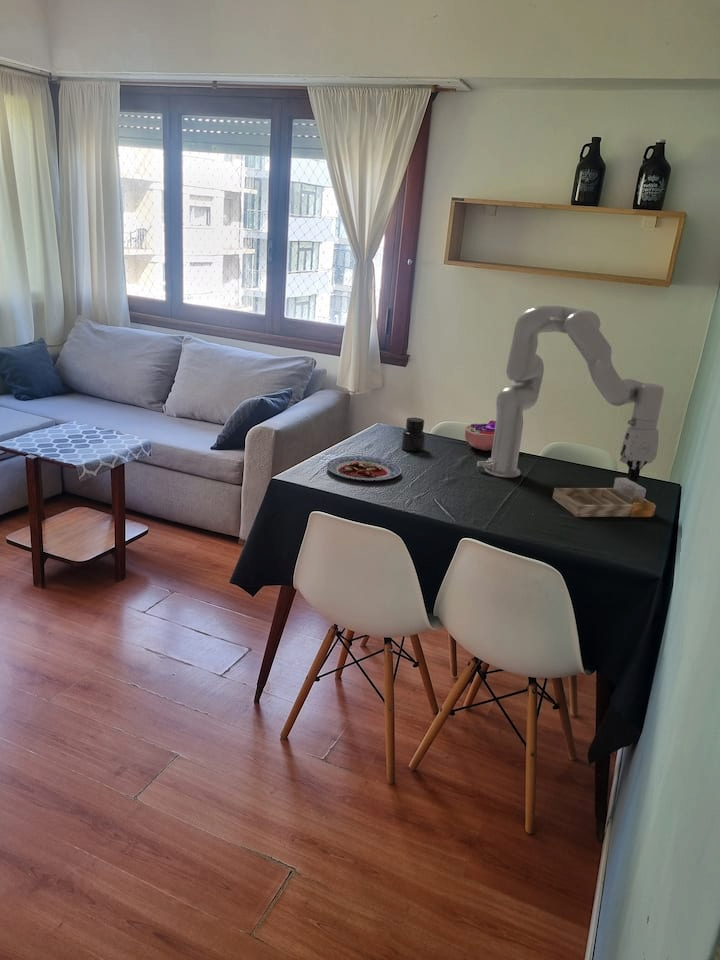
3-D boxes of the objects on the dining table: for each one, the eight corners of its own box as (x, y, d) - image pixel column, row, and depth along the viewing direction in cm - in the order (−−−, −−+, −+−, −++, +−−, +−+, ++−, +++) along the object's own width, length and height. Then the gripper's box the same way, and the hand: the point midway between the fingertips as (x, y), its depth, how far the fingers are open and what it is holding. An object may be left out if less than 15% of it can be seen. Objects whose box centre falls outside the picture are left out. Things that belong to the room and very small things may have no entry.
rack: (577, 517, 203) (580, 503, 202) (552, 498, 219) (554, 485, 217) (654, 516, 209) (658, 503, 207) (625, 497, 224) (627, 485, 223)
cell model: (452, 446, 271) (455, 418, 267) (487, 441, 282) (491, 415, 278) (482, 457, 258) (486, 429, 254) (517, 452, 269) (521, 424, 266)
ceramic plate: (378, 491, 214) (379, 482, 213) (311, 474, 225) (312, 465, 224) (413, 472, 235) (414, 464, 234) (350, 457, 247) (350, 449, 246)
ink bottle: (427, 449, 264) (431, 419, 260) (420, 454, 256) (423, 423, 252) (404, 444, 267) (407, 415, 264) (396, 449, 260) (399, 419, 256)
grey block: (630, 510, 210) (634, 489, 208) (611, 497, 220) (615, 477, 218) (641, 510, 211) (646, 489, 208) (622, 497, 221) (626, 477, 219)
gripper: (628, 426, 202) (617, 484, 208) (672, 427, 205) (660, 484, 211) (615, 420, 209) (604, 476, 215) (657, 421, 212) (646, 476, 218)
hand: (632, 480), depth 213 cm, fingers closed
